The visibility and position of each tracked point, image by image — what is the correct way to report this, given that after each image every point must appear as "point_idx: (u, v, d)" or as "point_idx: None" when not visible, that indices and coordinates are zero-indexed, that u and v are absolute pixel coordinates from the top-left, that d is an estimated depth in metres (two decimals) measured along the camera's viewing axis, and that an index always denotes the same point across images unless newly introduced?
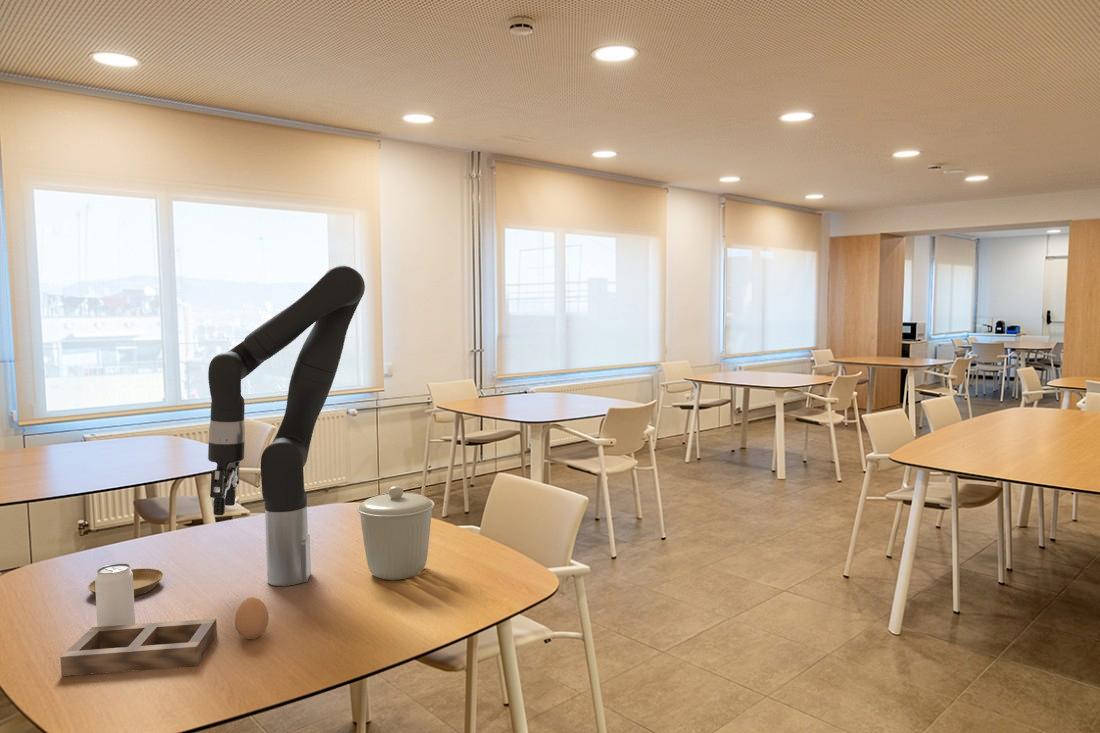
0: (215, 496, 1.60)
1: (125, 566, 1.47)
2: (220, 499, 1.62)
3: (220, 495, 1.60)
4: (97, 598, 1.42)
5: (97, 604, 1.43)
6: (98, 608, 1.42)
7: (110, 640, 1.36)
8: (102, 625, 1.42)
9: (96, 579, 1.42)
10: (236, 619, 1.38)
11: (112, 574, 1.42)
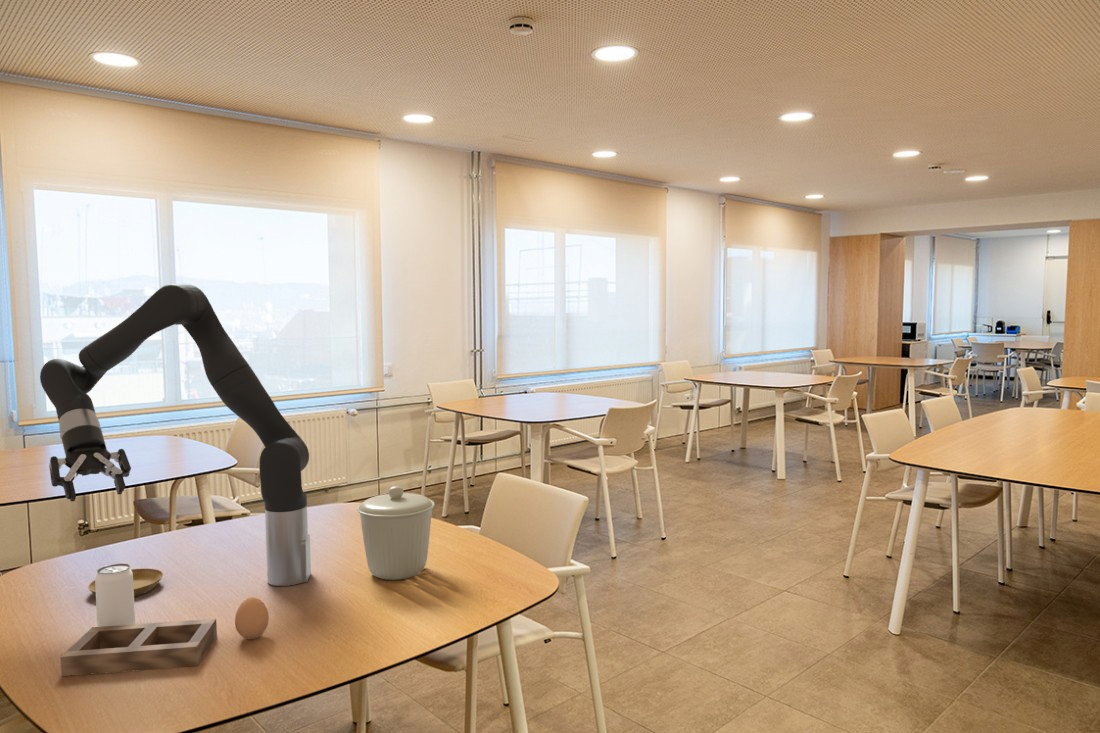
0: (53, 482, 1.50)
1: (125, 566, 1.47)
2: (63, 483, 1.50)
3: (53, 478, 1.49)
4: (97, 598, 1.42)
5: (97, 604, 1.43)
6: (98, 608, 1.42)
7: (110, 640, 1.36)
8: (102, 625, 1.42)
9: (96, 579, 1.42)
10: (236, 619, 1.38)
11: (112, 574, 1.42)
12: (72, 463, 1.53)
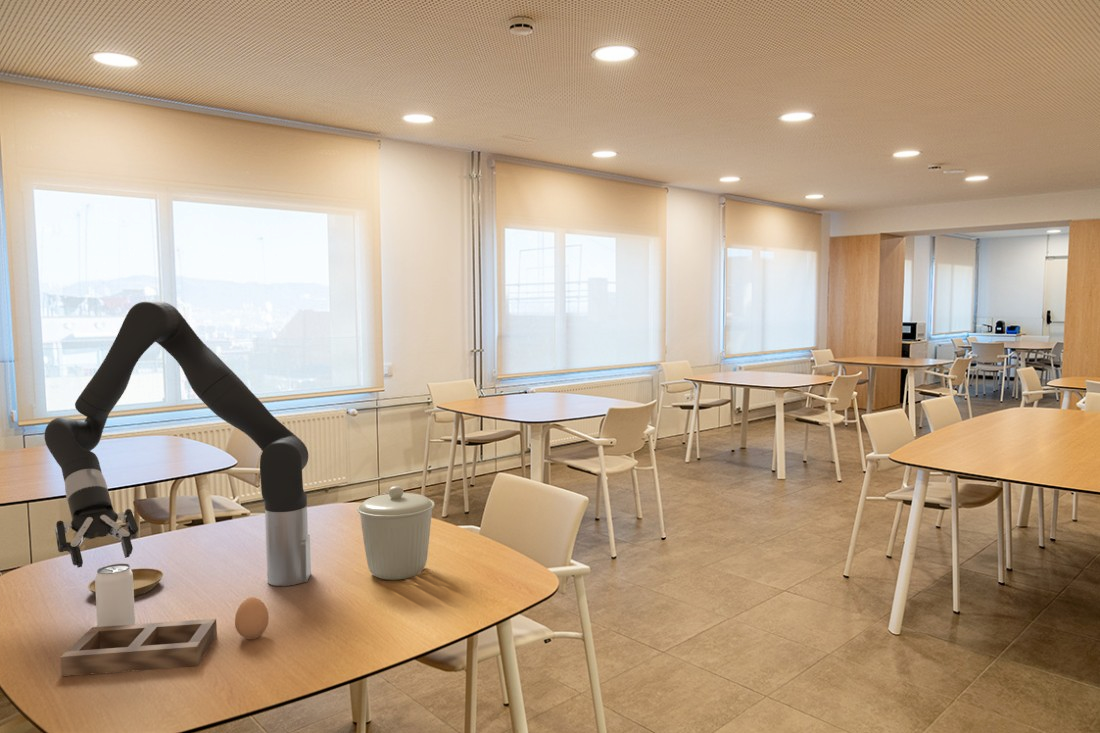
0: (59, 548, 1.47)
1: (125, 566, 1.47)
2: (70, 549, 1.47)
3: (59, 544, 1.46)
4: (97, 598, 1.42)
5: (97, 604, 1.43)
6: (98, 608, 1.42)
7: (110, 640, 1.36)
8: (102, 625, 1.42)
9: (96, 579, 1.42)
10: (236, 619, 1.38)
11: (112, 574, 1.42)
12: (78, 527, 1.50)
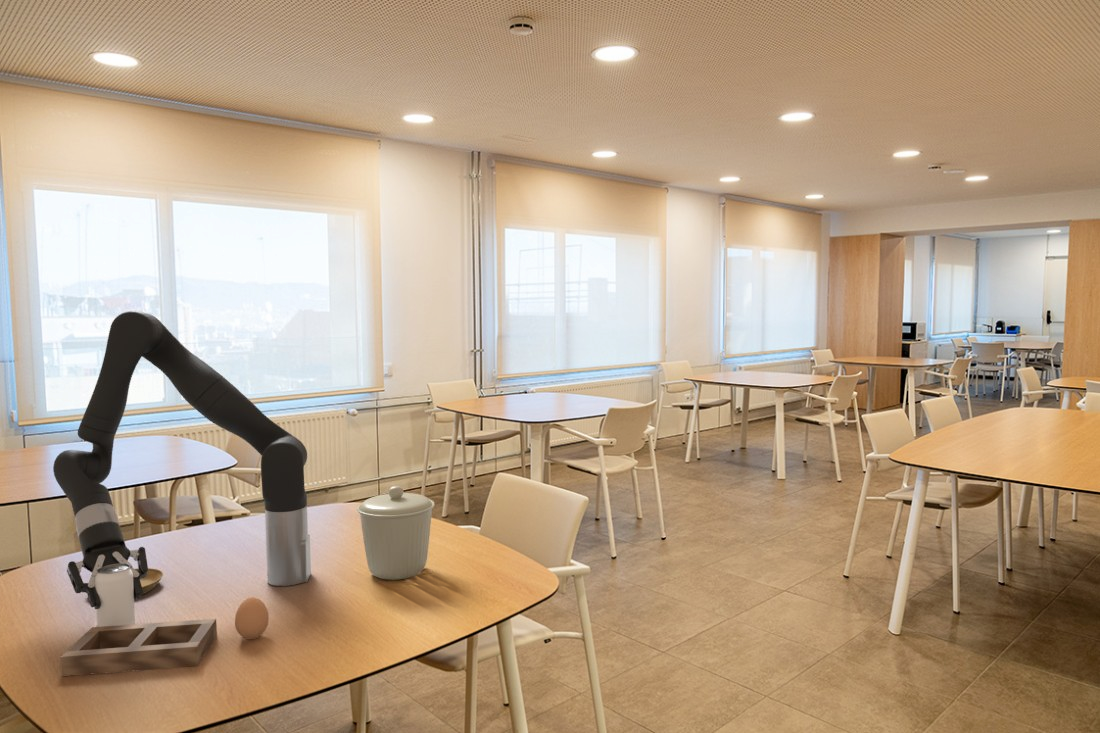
0: (76, 589, 1.42)
1: (125, 566, 1.47)
2: (88, 590, 1.42)
3: (76, 586, 1.41)
4: None
5: None
6: None
7: (110, 640, 1.36)
8: (102, 625, 1.42)
9: (96, 579, 1.42)
10: (236, 619, 1.38)
11: (112, 574, 1.42)
12: (92, 565, 1.45)
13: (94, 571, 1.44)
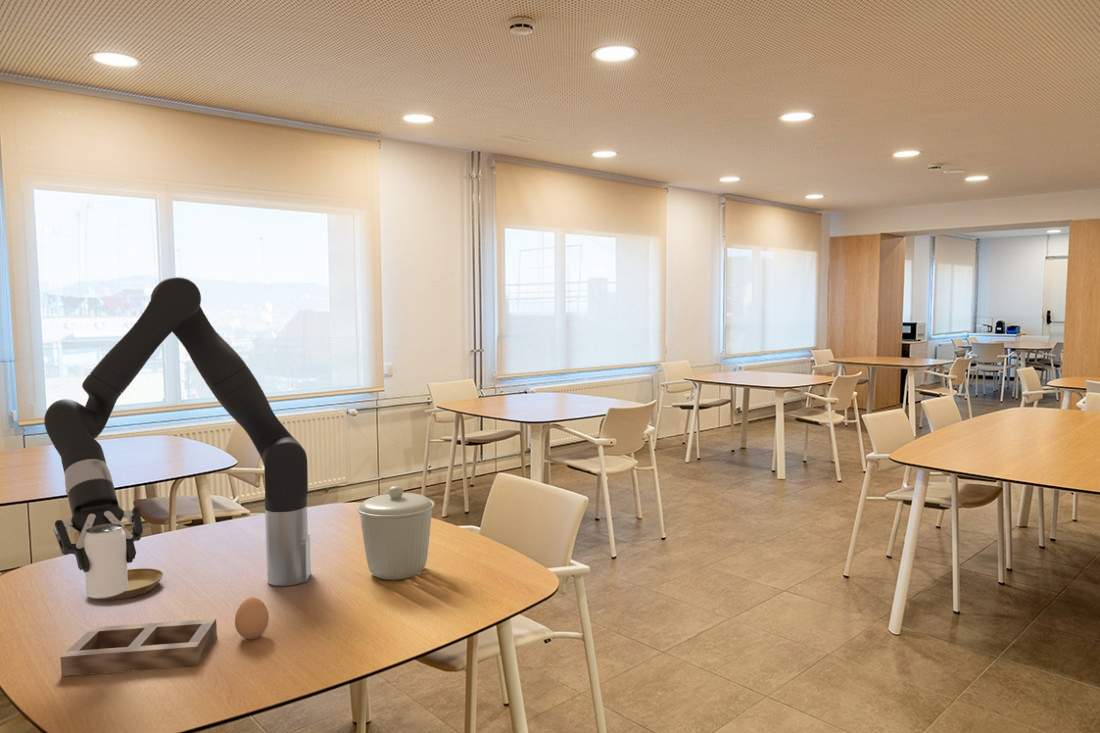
0: (63, 550, 1.29)
1: (117, 526, 1.34)
2: (76, 551, 1.30)
3: (63, 546, 1.29)
4: None
5: None
6: None
7: (110, 640, 1.36)
8: (91, 590, 1.30)
9: (85, 539, 1.30)
10: (236, 619, 1.38)
11: (102, 534, 1.30)
12: (81, 524, 1.33)
13: (83, 531, 1.32)
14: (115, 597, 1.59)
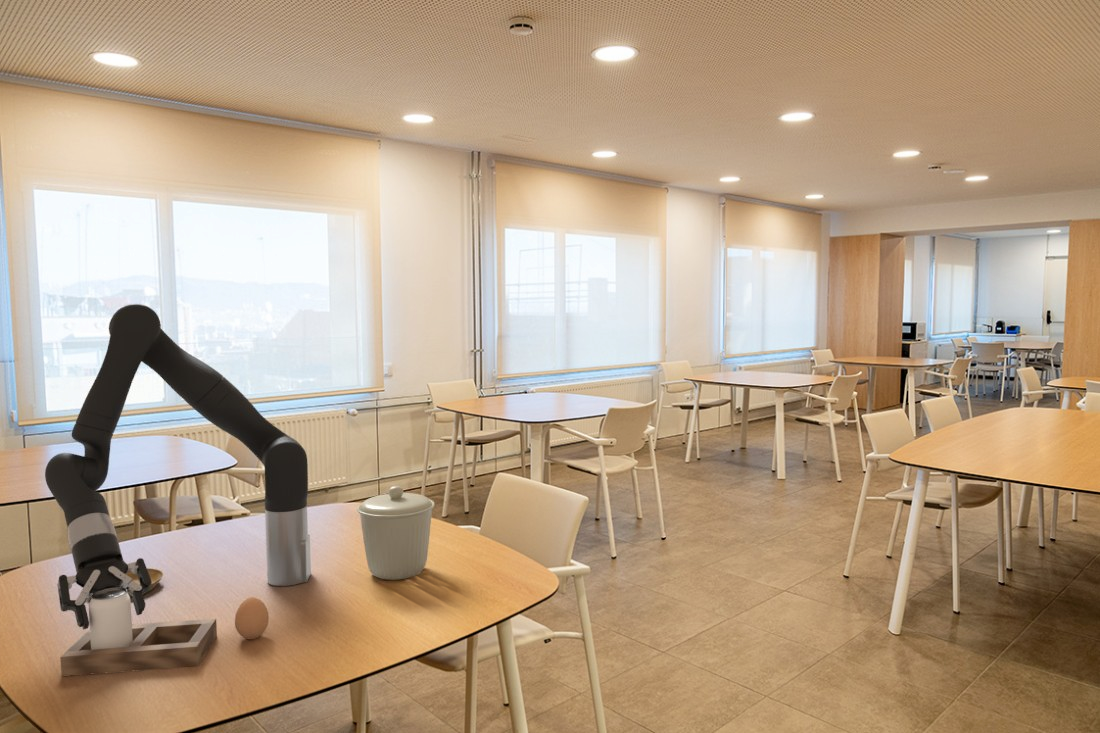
0: (62, 607, 1.28)
1: (122, 590, 1.34)
2: (74, 608, 1.29)
3: (62, 603, 1.28)
4: (91, 626, 1.30)
5: (91, 633, 1.30)
6: (92, 637, 1.30)
7: None
8: None
9: (90, 605, 1.30)
10: (236, 619, 1.38)
11: (107, 600, 1.29)
12: (84, 581, 1.32)
13: (85, 587, 1.31)
14: None
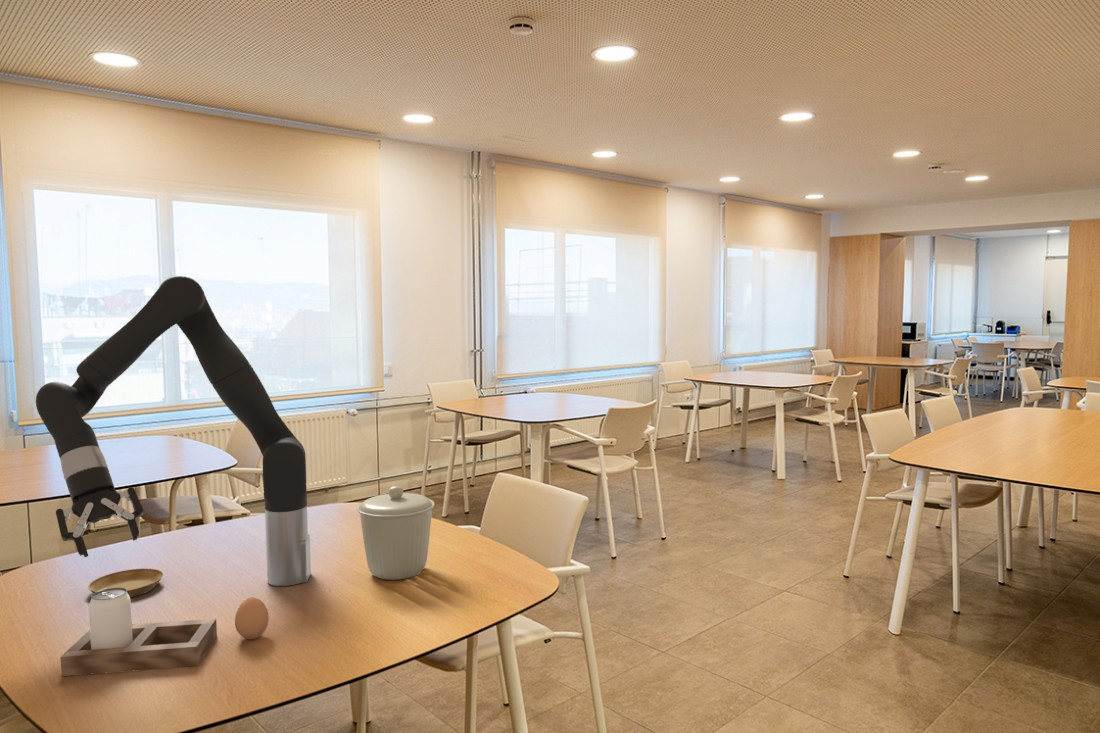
0: (62, 538, 1.41)
1: (122, 590, 1.34)
2: (73, 539, 1.41)
3: (61, 536, 1.40)
4: (91, 626, 1.30)
5: (91, 633, 1.30)
6: (92, 637, 1.30)
7: None
8: None
9: (90, 605, 1.30)
10: (236, 619, 1.38)
11: (107, 600, 1.29)
12: (79, 514, 1.43)
13: (80, 520, 1.42)
14: None
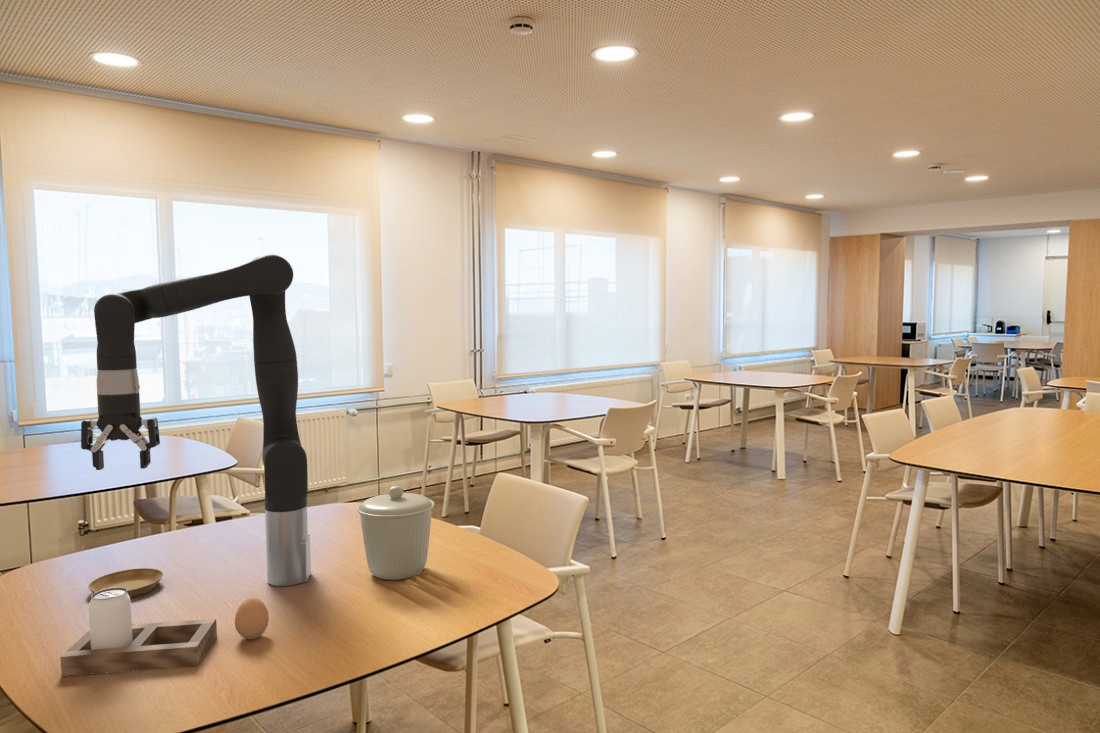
0: None
1: (122, 590, 1.34)
2: None
3: None
4: (91, 626, 1.30)
5: (91, 633, 1.30)
6: (92, 637, 1.30)
7: None
8: None
9: (90, 605, 1.30)
10: (236, 619, 1.38)
11: (107, 600, 1.29)
12: (101, 430, 1.50)
13: (99, 438, 1.49)
14: None
